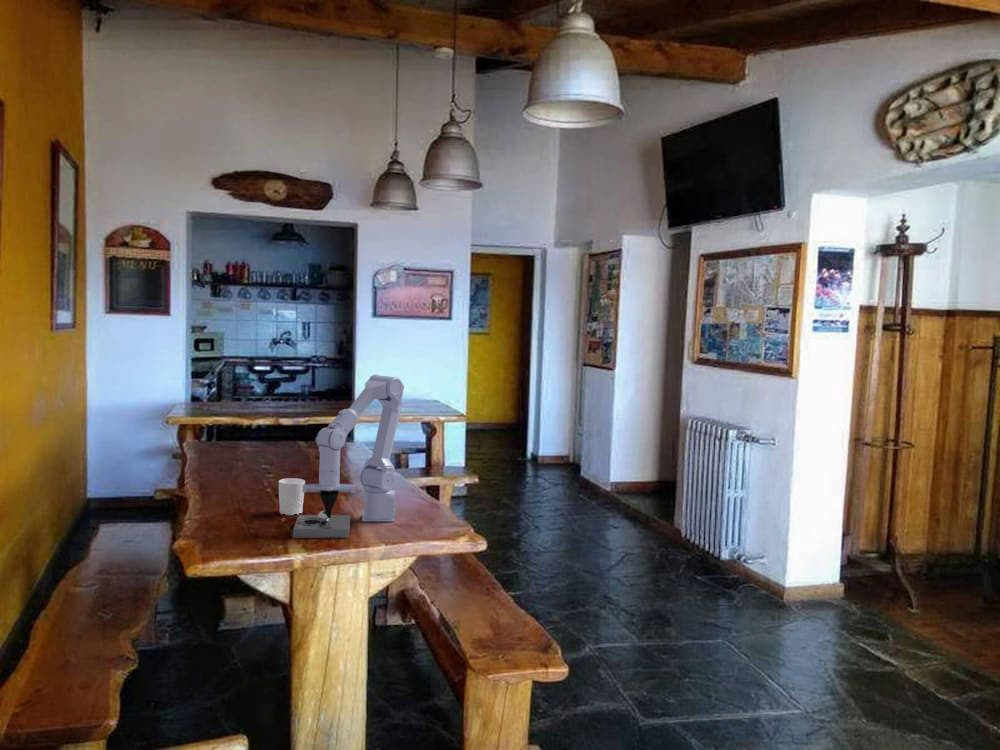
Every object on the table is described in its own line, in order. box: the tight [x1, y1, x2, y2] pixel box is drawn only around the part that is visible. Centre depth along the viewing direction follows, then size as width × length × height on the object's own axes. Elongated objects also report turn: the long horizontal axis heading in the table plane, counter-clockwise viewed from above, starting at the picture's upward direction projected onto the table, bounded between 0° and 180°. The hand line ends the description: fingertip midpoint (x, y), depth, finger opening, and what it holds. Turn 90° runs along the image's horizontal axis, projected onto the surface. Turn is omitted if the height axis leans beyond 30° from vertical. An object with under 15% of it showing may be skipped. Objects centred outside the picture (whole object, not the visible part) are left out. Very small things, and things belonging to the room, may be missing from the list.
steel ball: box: [317, 510, 330, 522], centre depth 215 cm, size 3×3×3 cm
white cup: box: [278, 477, 306, 516], centre depth 232 cm, size 8×8×10 cm
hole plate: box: [292, 514, 351, 539], centre depth 215 cm, size 15×15×2 cm
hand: (328, 516), depth 215 cm, fingers closed, pressing on steel ball
